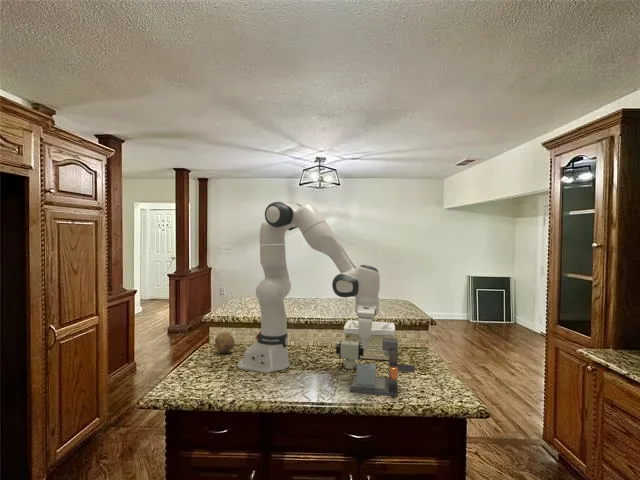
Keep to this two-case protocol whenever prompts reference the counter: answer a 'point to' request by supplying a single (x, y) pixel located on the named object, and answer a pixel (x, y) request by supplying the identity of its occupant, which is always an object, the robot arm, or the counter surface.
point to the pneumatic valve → (349, 352)
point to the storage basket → (371, 338)
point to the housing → (366, 374)
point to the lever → (393, 373)
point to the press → (384, 383)
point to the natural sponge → (224, 342)
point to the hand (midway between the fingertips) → (365, 344)
